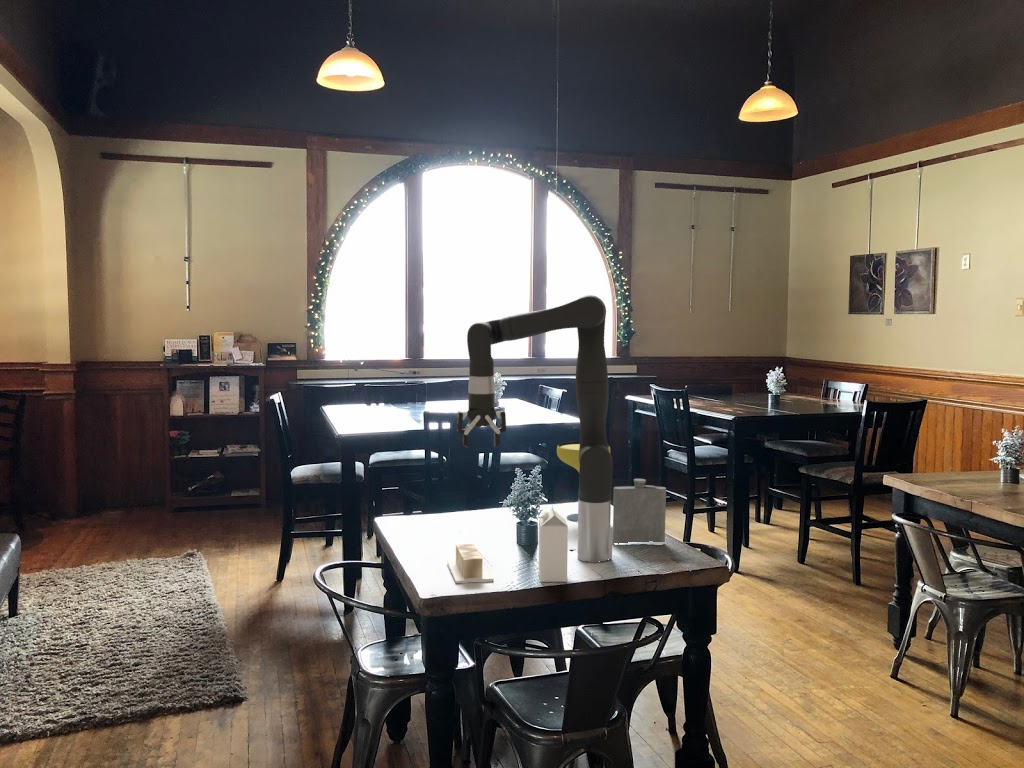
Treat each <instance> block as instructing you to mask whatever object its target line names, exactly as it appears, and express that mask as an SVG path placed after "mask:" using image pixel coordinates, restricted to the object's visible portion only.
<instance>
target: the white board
mask: <svg viewBox="0 0 1024 768" xmlns="http://www.w3.org/2000/svg"><path fill="white" fill-rule="evenodd" d="M447 564H448V565H447V567H448V566H449V567H448V568H449V569H448V570H449V571H450V574H451V573H452V574H451V576H452V575H453V576H452V579H453V580H455V581H454V583H455V582H456V583H462V584H468V583H467V582H478V583H490V582H491V583H492V581H495V580H494V577H493V575H492V573H491V572H490V570H489V568H488V566H487V564H486V563H485V561H484V559H482V577H476V578H463V576H462V574H461V572H460V570H459V568H458V566H457V564H456V560H451V561H450V560H449V561H447ZM456 583H455V584H456Z"/></svg>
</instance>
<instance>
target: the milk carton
mask: <svg viewBox="0 0 1024 768" xmlns="http://www.w3.org/2000/svg"><path fill="white" fill-rule="evenodd" d="M551 505H552V504H551ZM568 529H569V527H568V523H567V521H566V519H565V518H564V517H563V516H562V515H560V514H559V513H558V512H557V511H556V510H555V508H554V505H552V506H551V509H550V510H549V511H548V512H547V511H545V512H544V513H542V514H541V516H540V518H539V520H538V577H539V582H540V583H552V582H553V583H560V582H561V583H564V582H565V583H566V582H568V550H569V549H568V548H569V547H568V545H569V544H568V541H569V540H568V539H569V538H568V537H569V533H568V532H569V530H568Z"/></svg>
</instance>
